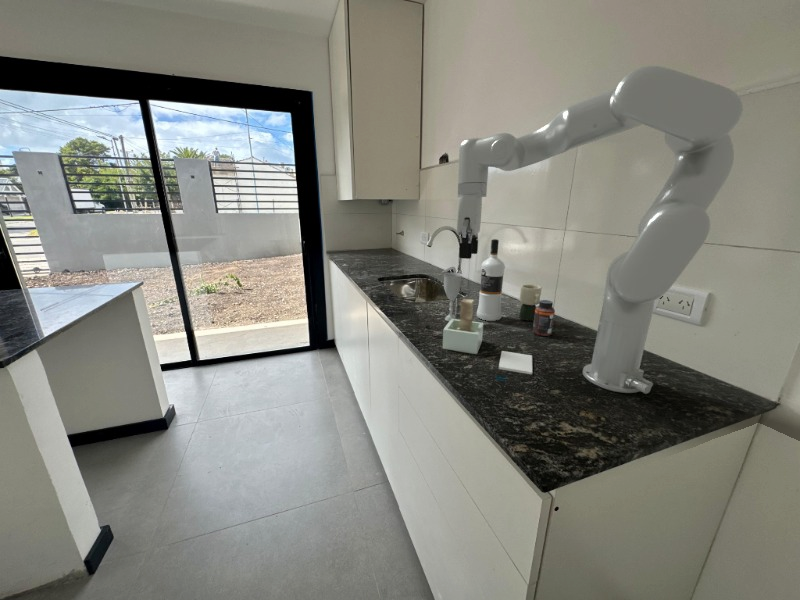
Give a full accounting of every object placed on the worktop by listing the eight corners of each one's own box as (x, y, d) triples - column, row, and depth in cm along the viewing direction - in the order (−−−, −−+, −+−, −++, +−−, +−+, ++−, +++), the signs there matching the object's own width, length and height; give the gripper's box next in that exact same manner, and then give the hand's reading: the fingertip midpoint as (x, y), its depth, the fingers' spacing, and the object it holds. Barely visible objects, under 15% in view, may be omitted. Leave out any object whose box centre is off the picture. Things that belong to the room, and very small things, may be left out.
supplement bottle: (554, 336, 104) (559, 304, 100) (536, 336, 104) (540, 304, 101) (547, 330, 109) (551, 298, 106) (529, 330, 109) (533, 298, 106)
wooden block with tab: (474, 344, 95) (477, 300, 92) (471, 348, 93) (475, 303, 89) (457, 341, 97) (460, 298, 94) (455, 345, 95) (457, 301, 91)
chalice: (437, 319, 119) (439, 273, 114) (452, 317, 122) (454, 271, 117) (448, 326, 113) (450, 277, 108) (463, 323, 116) (466, 275, 111)
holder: (481, 343, 98) (483, 322, 96) (476, 357, 89) (478, 334, 88) (450, 339, 102) (451, 318, 100) (442, 351, 93) (443, 329, 91)
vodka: (505, 321, 118) (513, 240, 110) (481, 322, 117) (488, 240, 108) (494, 313, 127) (501, 238, 118) (472, 314, 126) (478, 238, 117)
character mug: (544, 324, 115) (548, 289, 111) (526, 325, 114) (530, 290, 110) (528, 314, 125) (532, 282, 122) (511, 315, 124) (515, 283, 121)
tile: (531, 355, 87) (532, 372, 78) (531, 362, 88) (531, 379, 79) (501, 350, 90) (498, 366, 81) (501, 357, 90) (498, 373, 81)
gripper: (464, 193, 92) (461, 251, 97) (450, 189, 77) (447, 259, 82) (490, 192, 89) (486, 252, 94) (481, 189, 74) (477, 261, 79)
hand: (468, 255), depth 88 cm, fingers open, 9 cm apart
